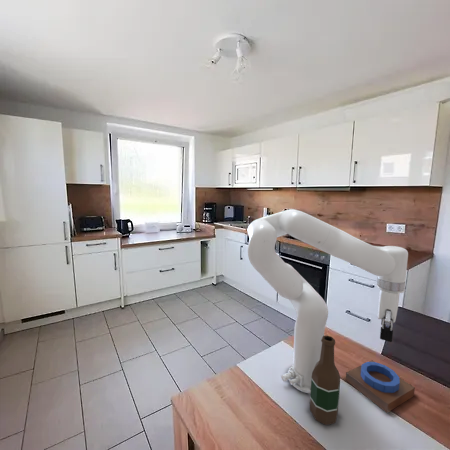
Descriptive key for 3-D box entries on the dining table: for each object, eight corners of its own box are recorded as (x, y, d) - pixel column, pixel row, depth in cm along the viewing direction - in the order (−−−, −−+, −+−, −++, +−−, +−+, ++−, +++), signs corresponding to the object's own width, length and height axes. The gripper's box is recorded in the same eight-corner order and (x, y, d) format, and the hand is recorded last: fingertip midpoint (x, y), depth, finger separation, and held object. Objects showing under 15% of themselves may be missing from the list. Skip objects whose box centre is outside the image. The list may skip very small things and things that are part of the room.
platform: (387, 413, 72) (388, 404, 71) (345, 380, 84) (346, 372, 84) (414, 396, 78) (415, 387, 77) (371, 367, 90) (372, 360, 90)
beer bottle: (341, 428, 67) (347, 348, 63) (311, 423, 68) (316, 345, 65) (334, 404, 74) (339, 332, 71) (307, 400, 76) (311, 328, 73)
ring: (385, 397, 73) (386, 390, 73) (353, 373, 83) (354, 367, 82) (406, 385, 78) (406, 378, 78) (373, 364, 87) (374, 358, 87)
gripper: (378, 274, 88) (374, 318, 91) (375, 290, 74) (371, 342, 77) (403, 278, 84) (399, 324, 87) (406, 296, 70) (400, 350, 73)
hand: (386, 332), depth 82 cm, fingers open, 9 cm apart
